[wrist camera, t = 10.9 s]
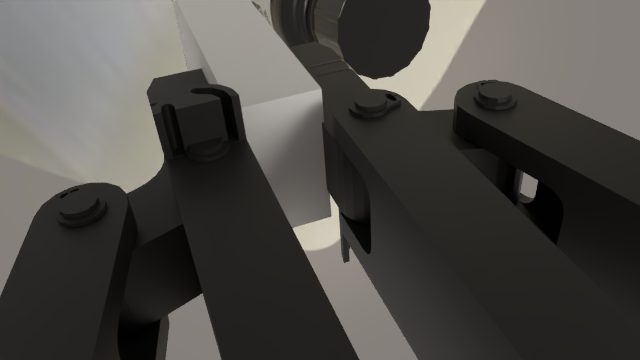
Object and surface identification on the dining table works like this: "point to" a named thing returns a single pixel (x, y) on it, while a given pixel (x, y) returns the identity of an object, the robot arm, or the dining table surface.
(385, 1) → the ink bottle
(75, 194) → the robot arm
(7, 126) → the dining table surface
